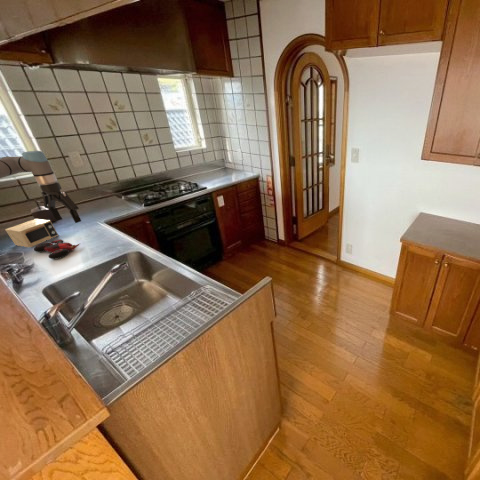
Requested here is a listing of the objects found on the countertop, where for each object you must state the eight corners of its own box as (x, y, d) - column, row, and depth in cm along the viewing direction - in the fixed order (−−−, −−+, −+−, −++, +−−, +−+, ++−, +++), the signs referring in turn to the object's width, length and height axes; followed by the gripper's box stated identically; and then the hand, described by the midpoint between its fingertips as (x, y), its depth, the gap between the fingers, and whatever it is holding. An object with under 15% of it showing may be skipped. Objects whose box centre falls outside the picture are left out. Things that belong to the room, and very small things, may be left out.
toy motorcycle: (56, 263, 145) (87, 246, 156) (50, 256, 142) (81, 239, 153) (36, 254, 155) (66, 238, 166) (29, 247, 152) (60, 232, 163)
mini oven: (15, 245, 161) (5, 229, 155) (45, 233, 174) (36, 218, 169) (31, 247, 158) (21, 231, 152) (60, 235, 171) (51, 220, 166)
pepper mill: (37, 225, 186) (23, 201, 177) (36, 221, 192) (23, 197, 184) (66, 218, 195) (54, 195, 187) (64, 214, 202) (52, 192, 194)
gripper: (75, 182, 134) (93, 219, 144) (38, 179, 139) (58, 216, 149) (59, 186, 127) (79, 225, 137) (21, 183, 132) (43, 222, 143)
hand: (68, 221), depth 143 cm, fingers open, 13 cm apart
